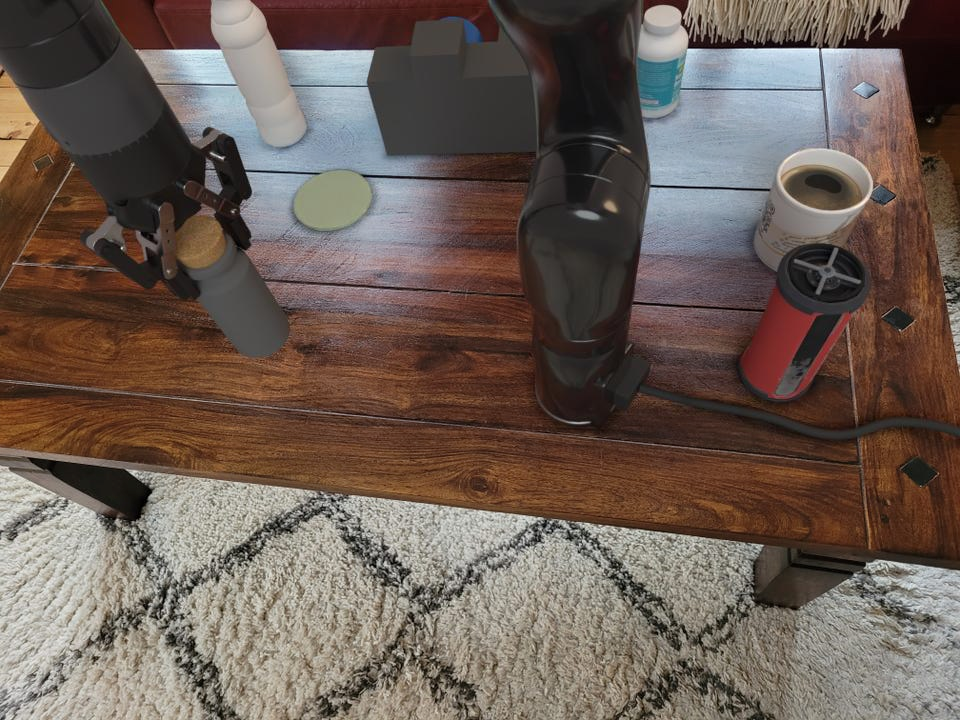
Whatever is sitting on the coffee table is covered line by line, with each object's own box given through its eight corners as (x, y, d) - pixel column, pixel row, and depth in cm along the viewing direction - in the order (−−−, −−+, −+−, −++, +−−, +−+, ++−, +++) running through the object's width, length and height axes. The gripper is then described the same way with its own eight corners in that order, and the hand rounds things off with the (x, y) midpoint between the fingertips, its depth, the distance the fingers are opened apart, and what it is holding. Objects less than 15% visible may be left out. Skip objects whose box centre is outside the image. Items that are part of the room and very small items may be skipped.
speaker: (750, 332, 78) (796, 225, 62) (820, 359, 75) (886, 253, 60) (726, 386, 75) (768, 286, 59) (798, 415, 72) (861, 319, 57)
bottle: (279, 362, 67) (211, 266, 54) (225, 355, 68) (146, 260, 56) (298, 313, 70) (238, 211, 57) (247, 308, 71) (176, 206, 58)
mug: (731, 248, 84) (753, 182, 75) (784, 191, 88) (810, 121, 78) (811, 291, 80) (844, 227, 70) (862, 229, 84) (900, 160, 74)
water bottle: (317, 125, 104) (254, -41, 83) (287, 155, 101) (214, -9, 80) (283, 112, 107) (213, -53, 85) (253, 141, 104) (173, -22, 83)
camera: (563, 76, 104) (562, -27, 91) (561, 151, 96) (560, 49, 82) (402, 83, 107) (379, -16, 94) (387, 155, 99) (359, 58, 86)
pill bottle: (681, 119, 97) (697, 30, 85) (627, 122, 97) (636, 35, 86) (674, 84, 101) (688, -5, 89) (622, 88, 101) (630, 0, 90)
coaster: (387, 189, 96) (386, 186, 95) (336, 242, 91) (335, 239, 91) (329, 163, 100) (328, 160, 99) (278, 212, 95) (277, 209, 95)
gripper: (54, 201, 42) (185, 347, 56) (220, 66, 47) (301, 230, 62) (-13, 161, 45) (129, 309, 59) (151, 37, 50) (244, 201, 64)
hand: (216, 268), depth 60 cm, fingers closed on bottle, 5 cm apart
